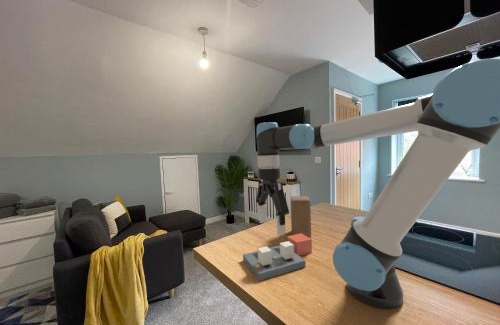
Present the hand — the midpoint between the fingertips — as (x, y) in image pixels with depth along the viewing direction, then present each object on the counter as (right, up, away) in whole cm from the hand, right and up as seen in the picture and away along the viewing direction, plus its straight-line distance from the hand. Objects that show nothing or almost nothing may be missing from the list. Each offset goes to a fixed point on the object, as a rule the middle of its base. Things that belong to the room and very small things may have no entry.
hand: (271, 227), depth 73 cm
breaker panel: (+2, -18, +11) cm, 21 cm away
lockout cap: (+15, -17, +21) cm, 31 cm away
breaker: (+7, -15, +10) cm, 19 cm away
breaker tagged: (-2, -15, +6) cm, 17 cm away
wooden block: (+20, -16, +39) cm, 47 cm away
